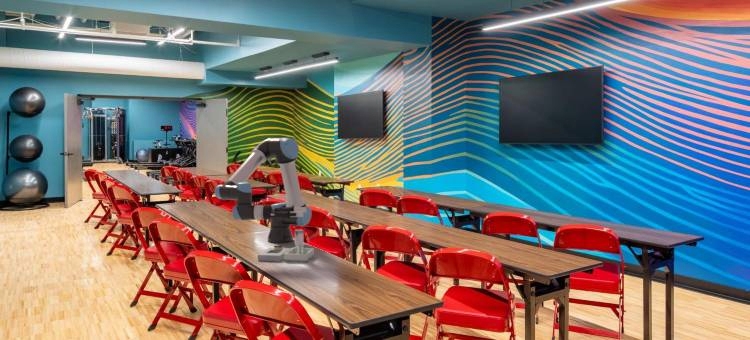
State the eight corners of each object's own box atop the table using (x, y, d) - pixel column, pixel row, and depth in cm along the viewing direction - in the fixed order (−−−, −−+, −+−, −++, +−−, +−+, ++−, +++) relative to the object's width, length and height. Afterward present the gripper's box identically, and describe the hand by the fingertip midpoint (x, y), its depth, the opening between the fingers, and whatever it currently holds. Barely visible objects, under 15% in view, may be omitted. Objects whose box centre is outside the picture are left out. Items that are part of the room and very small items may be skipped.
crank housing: (269, 253, 267) (269, 244, 267) (290, 253, 266) (290, 244, 265) (257, 260, 252) (257, 251, 251) (280, 261, 250) (280, 252, 250)
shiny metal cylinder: (296, 255, 258) (296, 229, 257) (304, 255, 257) (304, 229, 256) (294, 257, 254) (293, 230, 253) (302, 257, 253) (301, 231, 252)
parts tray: (292, 254, 263) (292, 247, 263) (314, 255, 262) (314, 248, 261) (284, 261, 250) (283, 253, 249) (306, 262, 248) (306, 254, 247)
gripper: (268, 215, 266) (307, 214, 266) (258, 224, 241) (301, 223, 242) (268, 201, 265) (307, 201, 266) (258, 209, 240) (301, 208, 241)
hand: (304, 211), depth 254 cm, fingers open, 13 cm apart
